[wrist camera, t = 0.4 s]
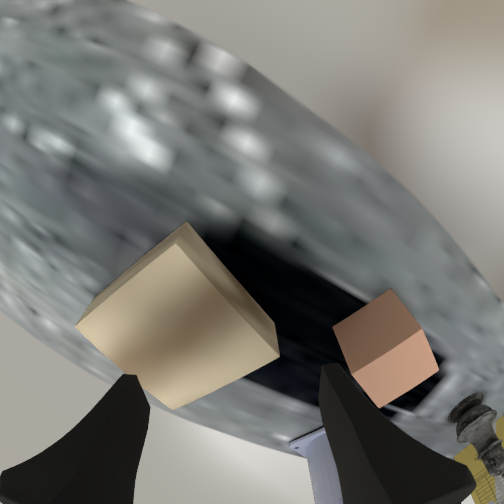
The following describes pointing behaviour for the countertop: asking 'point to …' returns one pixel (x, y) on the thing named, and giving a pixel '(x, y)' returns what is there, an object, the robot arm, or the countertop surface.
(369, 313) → the terracotta cube
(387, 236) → the countertop surface
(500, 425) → the pasta box
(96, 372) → the countertop surface
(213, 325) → the birch base
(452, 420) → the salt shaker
